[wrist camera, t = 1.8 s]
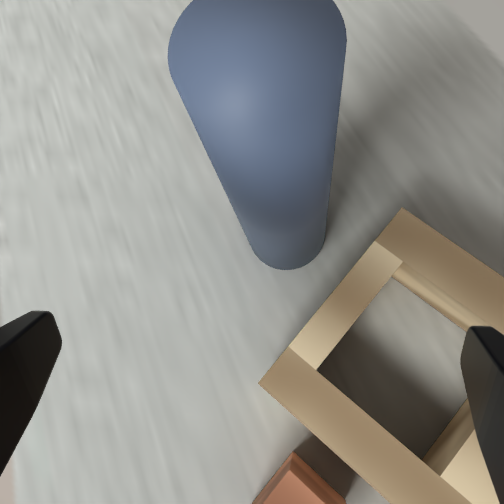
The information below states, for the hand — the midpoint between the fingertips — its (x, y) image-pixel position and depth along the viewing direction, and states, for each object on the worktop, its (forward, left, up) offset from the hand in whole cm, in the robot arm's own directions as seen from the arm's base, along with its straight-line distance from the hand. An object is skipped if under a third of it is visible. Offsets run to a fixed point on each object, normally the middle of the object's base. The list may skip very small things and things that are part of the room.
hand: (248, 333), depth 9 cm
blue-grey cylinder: (+5, +4, -13) cm, 14 cm away
